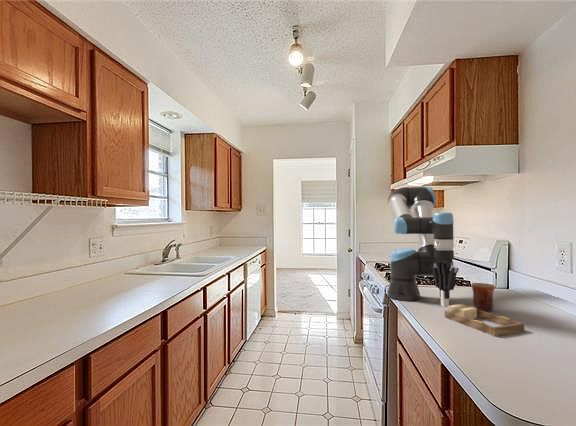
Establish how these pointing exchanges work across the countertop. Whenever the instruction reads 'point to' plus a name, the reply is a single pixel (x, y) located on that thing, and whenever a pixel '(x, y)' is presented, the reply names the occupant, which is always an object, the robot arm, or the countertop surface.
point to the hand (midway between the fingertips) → (444, 305)
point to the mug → (483, 296)
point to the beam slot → (508, 324)
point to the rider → (464, 310)
